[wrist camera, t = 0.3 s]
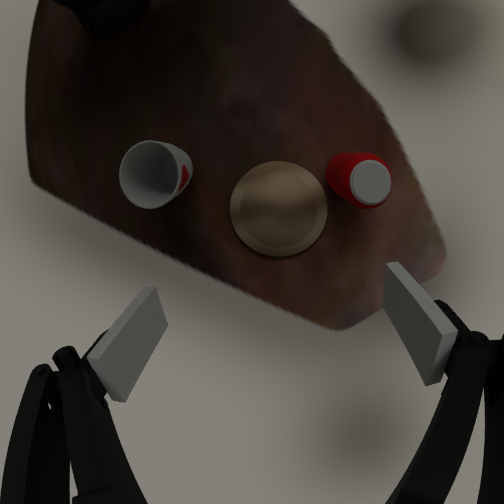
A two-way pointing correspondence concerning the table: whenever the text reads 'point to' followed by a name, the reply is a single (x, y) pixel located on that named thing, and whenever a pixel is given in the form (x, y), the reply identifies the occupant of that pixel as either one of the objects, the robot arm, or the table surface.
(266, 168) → the plate
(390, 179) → the beverage can
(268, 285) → the table surface
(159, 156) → the cup
